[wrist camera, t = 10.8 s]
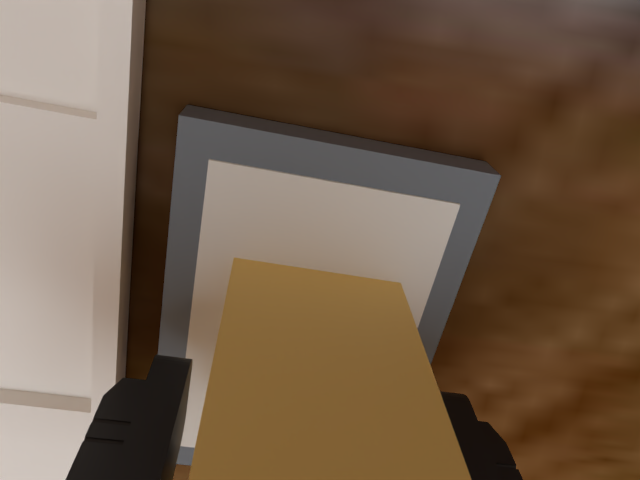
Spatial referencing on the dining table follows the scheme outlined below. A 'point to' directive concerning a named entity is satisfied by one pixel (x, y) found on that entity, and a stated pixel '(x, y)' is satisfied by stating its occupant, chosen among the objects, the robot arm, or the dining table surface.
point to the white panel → (37, 450)
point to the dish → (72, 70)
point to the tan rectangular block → (321, 384)
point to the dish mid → (63, 277)
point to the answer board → (309, 224)
